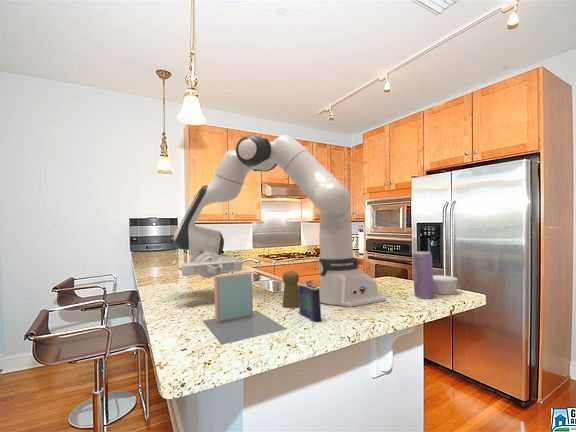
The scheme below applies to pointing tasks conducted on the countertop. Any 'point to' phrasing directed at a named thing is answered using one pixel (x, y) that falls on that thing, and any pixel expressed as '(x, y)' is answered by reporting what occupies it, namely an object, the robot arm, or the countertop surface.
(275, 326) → the slate board
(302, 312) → the flask
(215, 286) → the tile
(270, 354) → the countertop surface
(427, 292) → the beverage can
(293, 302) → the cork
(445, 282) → the ramekin
